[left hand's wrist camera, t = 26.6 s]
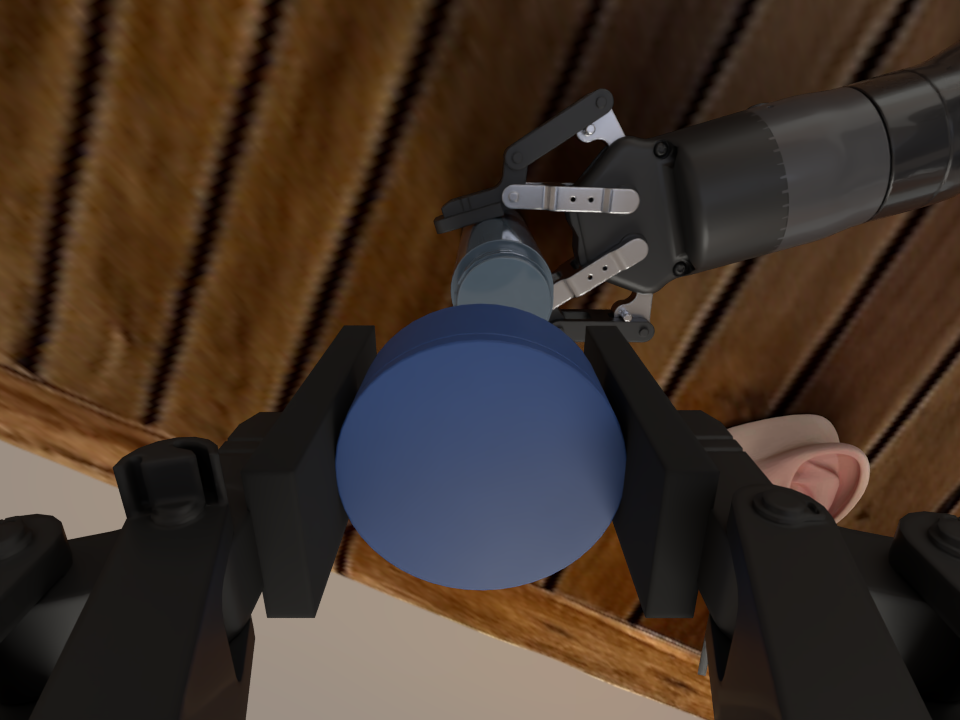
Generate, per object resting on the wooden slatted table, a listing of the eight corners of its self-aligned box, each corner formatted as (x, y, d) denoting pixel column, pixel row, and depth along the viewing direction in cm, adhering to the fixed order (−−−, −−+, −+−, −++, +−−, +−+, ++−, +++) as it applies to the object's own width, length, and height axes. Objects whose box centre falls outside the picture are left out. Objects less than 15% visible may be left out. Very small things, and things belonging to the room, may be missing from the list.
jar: (541, 227, 37) (581, 285, 22) (505, 283, 38) (520, 374, 23) (483, 190, 36) (485, 225, 21) (449, 249, 37) (427, 321, 22)
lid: (626, 318, 11) (658, 359, 9) (578, 531, 13) (596, 602, 11) (364, 288, 11) (338, 322, 9) (354, 508, 13) (330, 577, 11)
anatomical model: (678, 584, 42) (686, 450, 38) (662, 548, 46) (667, 423, 42) (858, 572, 42) (886, 436, 38) (827, 537, 45) (850, 410, 41)
